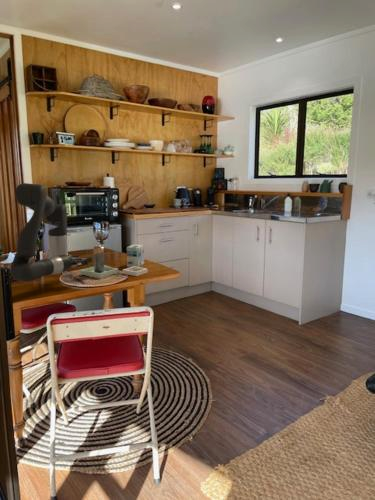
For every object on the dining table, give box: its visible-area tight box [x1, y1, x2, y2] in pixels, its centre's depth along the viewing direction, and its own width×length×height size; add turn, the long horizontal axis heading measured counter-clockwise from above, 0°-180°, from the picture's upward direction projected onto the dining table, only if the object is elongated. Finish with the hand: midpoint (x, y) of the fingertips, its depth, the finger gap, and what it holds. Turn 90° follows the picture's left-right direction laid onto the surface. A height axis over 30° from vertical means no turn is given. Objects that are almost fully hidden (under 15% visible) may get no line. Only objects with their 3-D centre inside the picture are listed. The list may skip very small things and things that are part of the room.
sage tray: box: [79, 265, 119, 280], centre depth 187 cm, size 13×13×2 cm
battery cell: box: [93, 244, 105, 273], centre depth 185 cm, size 5×5×14 cm
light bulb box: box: [126, 243, 145, 268], centre depth 207 cm, size 11×7×11 cm, turn 168°
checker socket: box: [122, 266, 149, 277], centre depth 190 cm, size 9×9×2 cm
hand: (84, 258), depth 177 cm, fingers open, 8 cm apart
